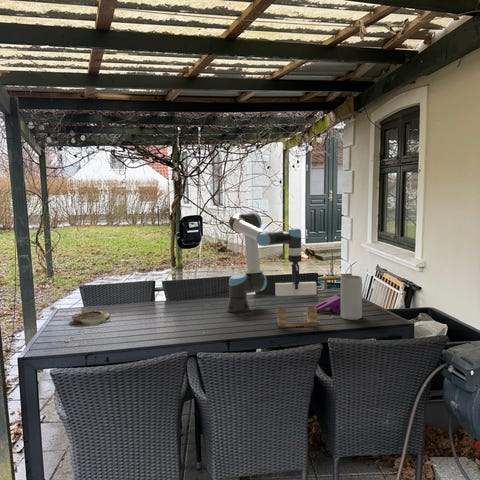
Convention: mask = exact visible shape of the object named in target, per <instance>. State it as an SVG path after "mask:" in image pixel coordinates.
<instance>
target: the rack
mask: <svg viewBox="0 0 480 480" xmlns="http://www.w3.org/2000/svg"><path fill="white" fill-rule="evenodd" d="M306 306H307V307H306V310H307V311H306V313H307V317H306V319H307V321H288V322H287V315H286V314H287V311H286V309H285V305H277V306H276V313H277V314H276V315H277V317H276V319H277V320H276V321H277V325H278V327H279V328H292V327H293V328H294V327H295V328H297V327H296V326H298V327H299V326H304V327H318V312H317V309H314V306H315V304H308V305H306Z"/></svg>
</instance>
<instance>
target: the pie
mask: <svg viewBox="0 0 480 480" xmlns="http://www.w3.org/2000/svg"><path fill="white" fill-rule="evenodd" d="M110 317H111V314H109V312H108V311H105V310H96V309H95V310H86V311H82V312H78V313H75V314H72V316H71V319H72V320H73V321H74V323H75V324H77V325H84V326H90V327H92V326H93V327H94V326H95V327H96V326H97V325H99V324H102V323H106V322H105V321H108V322H110V321H111V318H110ZM84 326H81V327H82V328H83V327H84Z"/></svg>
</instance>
